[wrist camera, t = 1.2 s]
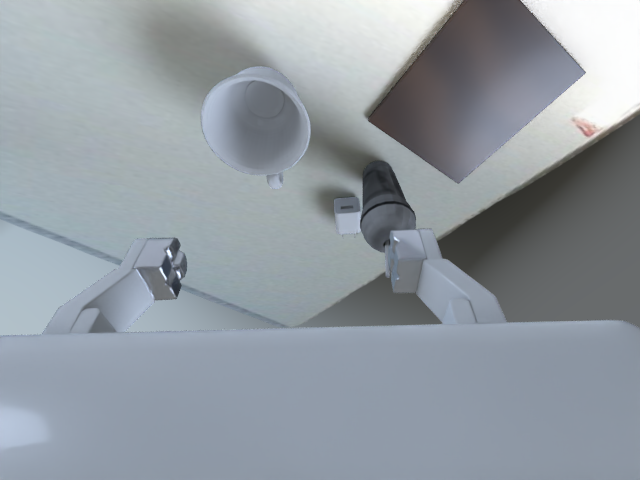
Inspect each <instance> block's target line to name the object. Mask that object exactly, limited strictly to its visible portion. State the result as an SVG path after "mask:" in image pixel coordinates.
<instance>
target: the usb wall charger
mask: <svg viewBox="0 0 640 480" xmlns="http://www.w3.org/2000/svg"><path fill="white" fill-rule="evenodd" d="M334 212H335V223H336V232H337V234H342V238H343V234H353V233H354V238H355V233H359V232H360V231H361V229H360V204H359V198H357V197H347V198H337V199H335V200H334Z"/></svg>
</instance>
